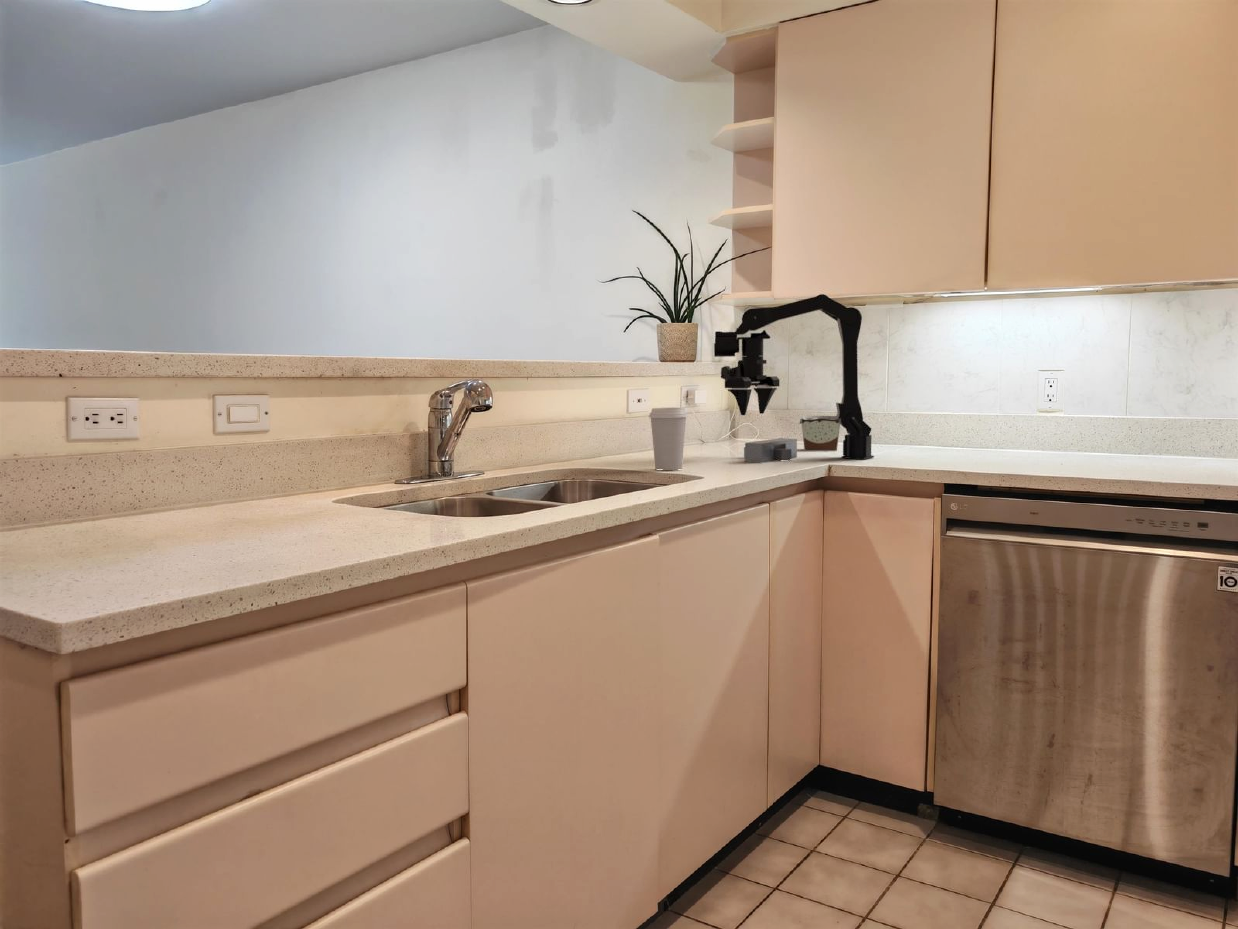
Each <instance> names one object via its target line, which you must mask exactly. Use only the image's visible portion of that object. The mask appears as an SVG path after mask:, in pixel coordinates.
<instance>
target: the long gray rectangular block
mask: <svg viewBox="0 0 1238 929" xmlns="http://www.w3.org/2000/svg"><path fill="white" fill-rule="evenodd" d="M744 447H745V458H744V463H755V462H764V463H768V462H767V461H770V462H774V461H773V460H774V448H785V449H791V459H793V458H794V459H795V458H797V457H798V454H797V453H798V438H788V437H785V438H783V437H780V438H774V439H773V438H771V439H765V440H757V441H750V442H744Z"/></svg>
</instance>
